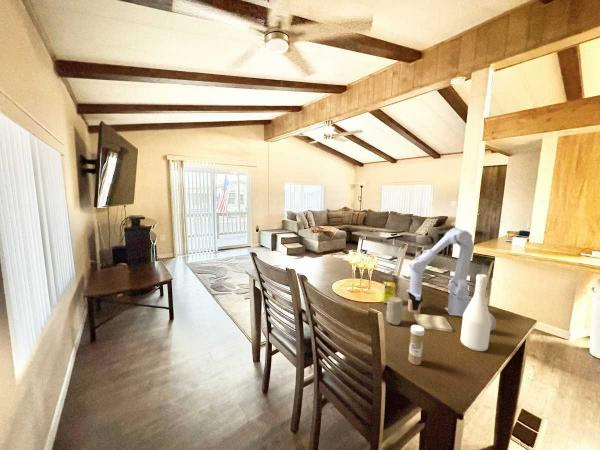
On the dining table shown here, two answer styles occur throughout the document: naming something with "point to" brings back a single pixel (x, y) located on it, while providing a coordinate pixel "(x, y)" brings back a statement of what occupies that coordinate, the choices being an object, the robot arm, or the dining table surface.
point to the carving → (394, 310)
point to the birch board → (433, 322)
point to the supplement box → (388, 291)
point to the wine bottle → (477, 319)
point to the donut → (492, 322)
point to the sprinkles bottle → (416, 344)
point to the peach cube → (412, 308)
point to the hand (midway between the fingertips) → (413, 307)
